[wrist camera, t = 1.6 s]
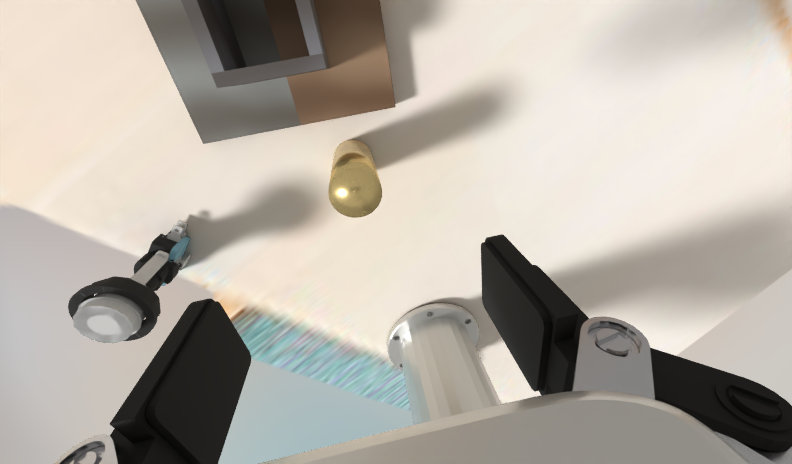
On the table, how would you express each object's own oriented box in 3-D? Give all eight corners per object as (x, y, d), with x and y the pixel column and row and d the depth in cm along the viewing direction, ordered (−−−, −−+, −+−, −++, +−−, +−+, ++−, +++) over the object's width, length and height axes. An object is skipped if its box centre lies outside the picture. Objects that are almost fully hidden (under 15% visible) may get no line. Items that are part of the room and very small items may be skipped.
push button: (155, 206, 28) (67, 269, 19) (216, 231, 30) (161, 298, 21) (137, 260, 30) (50, 338, 21) (194, 280, 32) (136, 359, 23)
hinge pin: (375, 173, 29) (386, 211, 21) (339, 181, 29) (336, 222, 21) (368, 136, 27) (376, 162, 20) (329, 143, 27) (322, 173, 19)
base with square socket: (393, 105, 26) (405, 114, 21) (210, 140, 26) (172, 159, 20) (358, -123, 20) (362, -202, 14) (108, -85, 19) (5, -152, 13)
